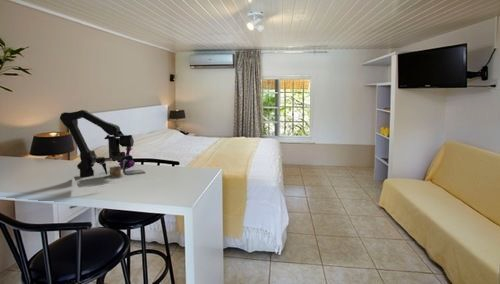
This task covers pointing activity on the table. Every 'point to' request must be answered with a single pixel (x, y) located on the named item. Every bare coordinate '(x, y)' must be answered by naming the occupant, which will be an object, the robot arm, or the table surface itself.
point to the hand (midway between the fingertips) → (115, 173)
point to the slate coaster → (134, 172)
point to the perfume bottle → (130, 161)
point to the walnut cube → (115, 171)
